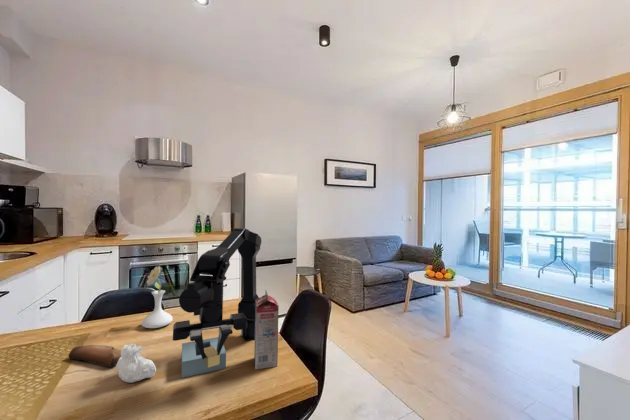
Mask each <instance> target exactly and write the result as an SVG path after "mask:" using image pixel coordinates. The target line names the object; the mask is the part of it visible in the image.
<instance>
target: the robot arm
mask: <svg viewBox="0 0 630 420" xmlns="http://www.w3.org/2000/svg"><path fill="white" fill-rule="evenodd" d="M261 245H262V237H261V236H260V235H259V234H258V233H256V232H254V231H250V230H249V228H248V229H247V228H243V227H240V228H239V227H235V228H233V229H231V232H230V234H229V235H227V236H226V237H225V238H224V240H222V242H221V243H220V244H219V245H218V246H217V247H215V248H213V249H209V250H207V251H206V252H203V254H201V255H200V257H199V258H198V260H197V262H196V263H195V266H194V269H193V271H192V274H191V277H190V278H189V281H190V282H188V283H187V285H186V289H184V290H183V291H181V293H180V295H179V298H178V303H179V306H180V308H181V309H182V311H184V312H186V313H190V314H191V313H193V316H194V317H195V316H199V323H198V322H197V323H190V322H191V321H190V319H188V320H187V319H186V320H181V321H175V323H174V324H173V326H172V327H173V328H172V341H175V342H176V341H180V340H181V341H183V340H187V339H188V338H189V340H190V341H189V342H194V341H195V342H196V344H197V346H198V348H199V350H200V353H201V356H202V359H204V346H203V340H204V337H203V331H206V330H213V329H218V336H217V337H218V344H217V352H218V353H219V354H220V352H221V349H222V347H223V345H224V344H225V342H226V341H227V339H228V337H229V336H230V335H232V334H233V329H234V330H236V331H240V337H242V339H243V340H244V341H245V342H246V341H251V340H255V307H256V300H257V299H258V298H260V296H259V295H258V294H257V255H258V253H259V251H260V250H261ZM236 252H238V254H239V255H240V256H241V258H242V294H243V295H242V298H241V300H240V301H239V302H238V304H237V312H235V313H231V314H230V316H229V318H225V319H224V317H223V316H224V315H223V311H224V308H223V307H224V281H225V280H227V276H226V274H227V272H228V269H229V267H230V265H231V263H230V259H231V258H232V256H233V255H234V254H235V253H236ZM232 328H233V329H232ZM224 346H225V345H224Z"/></svg>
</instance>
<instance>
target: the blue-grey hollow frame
mask: <svg viewBox="0 0 630 420" xmlns="http://www.w3.org/2000/svg"><path fill="white" fill-rule="evenodd" d="M217 344H218V336H217V337H211V338H206V339H203V346H204V348H207V347H210V346H213V347H214V348H215V349H216V351H217ZM226 368H227V352H226V348H225V345H223V347H222V349H221V352H220V364H218V365H215V366H212V367H209V368H208V367H207V365H206V364H205V362H204V361H203V359H202V356H201V353H200V350H199V348H198V346H197V344H196V342H195V341H188V342H182V343H181V378H182V379H183V378H188V377H193V376H197V375H202V374H205V373H209V372H214V371H218V370H219V371H220V370H224V369H226Z"/></svg>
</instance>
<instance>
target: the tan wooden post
mask: <svg viewBox="0 0 630 420" xmlns="http://www.w3.org/2000/svg"><path fill="white" fill-rule="evenodd" d="M203 361H204V362H205V364H206V365H207V367H208V368H209V367H212V366H215V365H218V364H220V354H219V353H218V352H217V351H216V349H215V348H214V347H213V346H210V347H207V348H204V359H203Z"/></svg>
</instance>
